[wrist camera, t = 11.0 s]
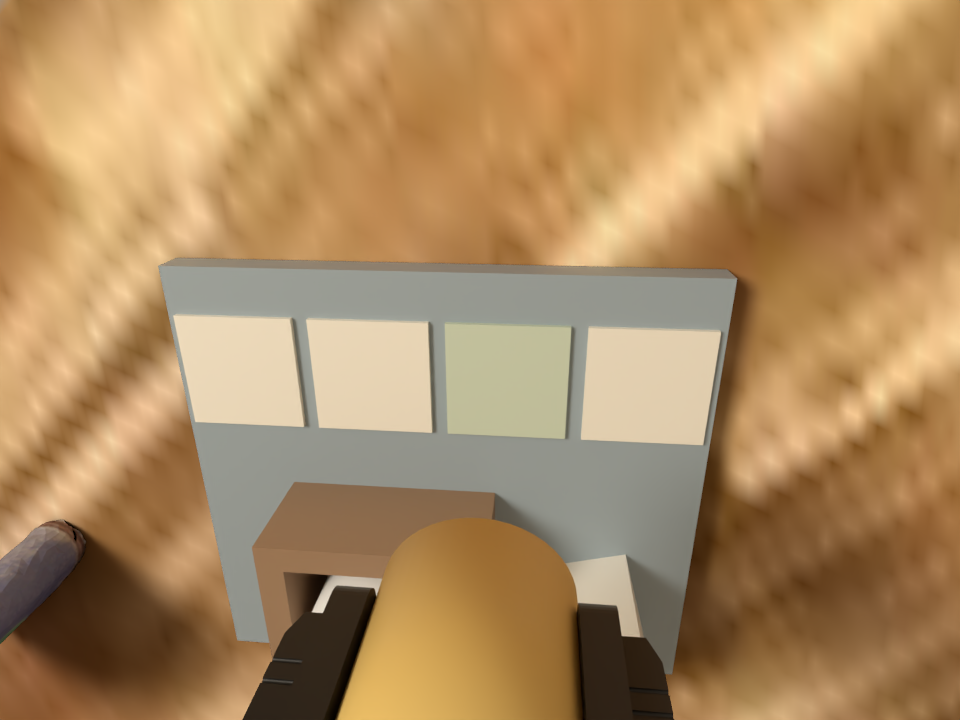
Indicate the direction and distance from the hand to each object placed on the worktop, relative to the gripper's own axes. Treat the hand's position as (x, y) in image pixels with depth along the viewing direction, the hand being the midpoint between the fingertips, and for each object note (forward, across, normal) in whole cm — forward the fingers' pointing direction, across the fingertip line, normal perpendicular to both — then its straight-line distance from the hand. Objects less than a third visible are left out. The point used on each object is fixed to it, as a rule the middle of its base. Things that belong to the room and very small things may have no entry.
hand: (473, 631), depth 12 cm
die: (+12, -4, +10) cm, 16 cm away
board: (+13, +2, +5) cm, 14 cm away
